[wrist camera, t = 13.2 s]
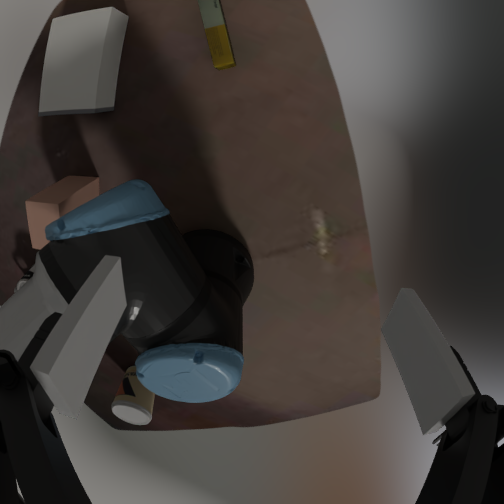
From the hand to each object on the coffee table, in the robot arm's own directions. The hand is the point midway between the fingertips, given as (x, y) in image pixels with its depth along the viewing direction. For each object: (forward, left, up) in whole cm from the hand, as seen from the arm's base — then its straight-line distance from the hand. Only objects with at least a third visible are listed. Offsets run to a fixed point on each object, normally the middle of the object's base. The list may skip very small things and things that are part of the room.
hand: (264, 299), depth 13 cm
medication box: (+18, +8, -31) cm, 37 cm away
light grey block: (+13, +26, -31) cm, 42 cm away
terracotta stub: (-8, +26, -31) cm, 41 cm away
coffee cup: (-52, +18, -31) cm, 63 cm away
